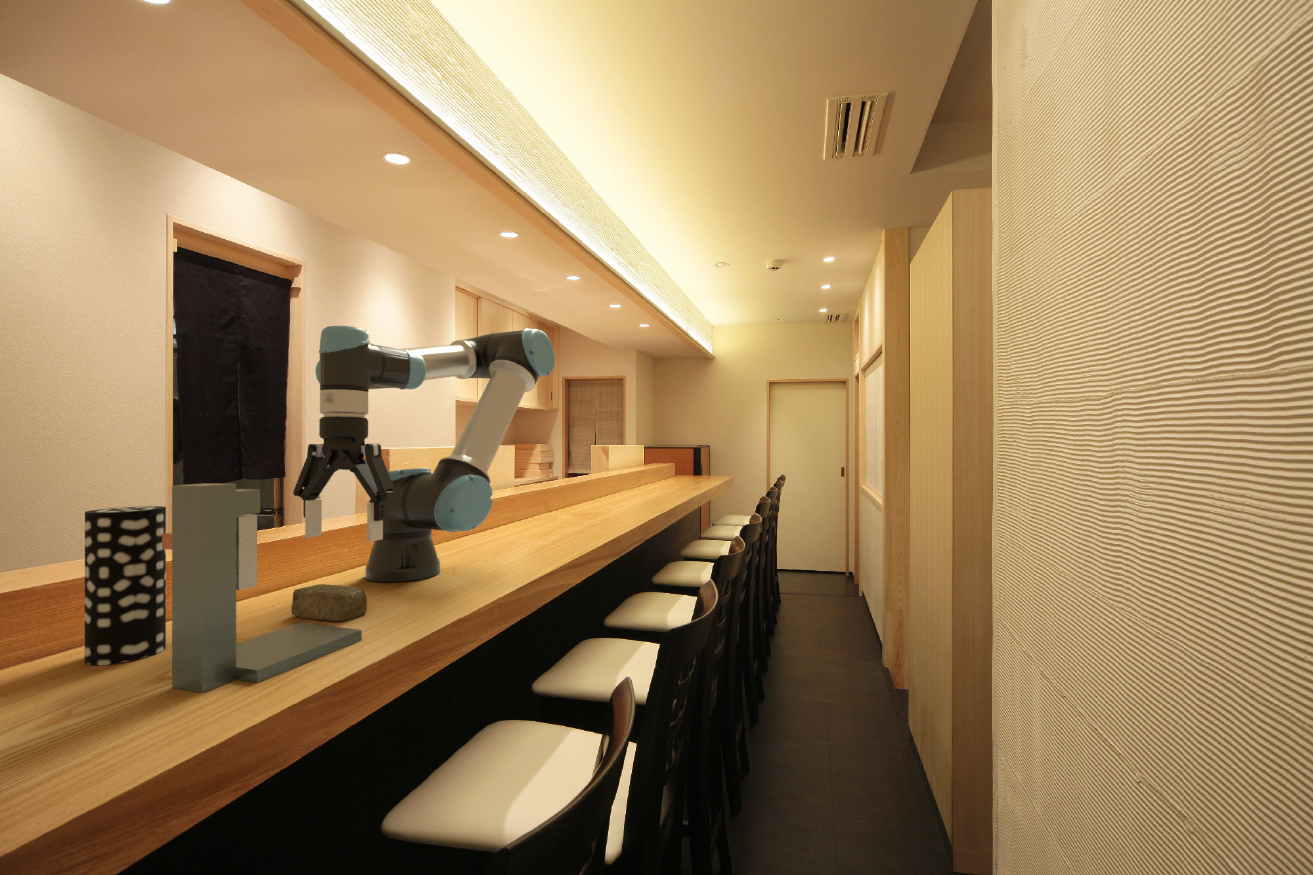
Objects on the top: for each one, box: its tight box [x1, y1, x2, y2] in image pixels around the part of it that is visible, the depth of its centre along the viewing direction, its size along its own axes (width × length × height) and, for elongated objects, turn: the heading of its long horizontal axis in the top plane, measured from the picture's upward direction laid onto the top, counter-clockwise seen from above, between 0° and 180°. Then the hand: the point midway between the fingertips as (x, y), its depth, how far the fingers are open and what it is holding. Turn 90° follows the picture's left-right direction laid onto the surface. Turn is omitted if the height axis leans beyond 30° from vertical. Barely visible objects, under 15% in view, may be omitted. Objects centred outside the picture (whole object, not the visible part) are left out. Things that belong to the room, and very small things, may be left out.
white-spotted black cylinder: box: [84, 505, 167, 666], centre depth 81 cm, size 8×8×20 cm
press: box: [171, 482, 363, 694], centre depth 78 cm, size 20×12×24 cm, turn 162°
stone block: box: [290, 583, 368, 622], centre depth 98 cm, size 6×12×5 cm, turn 72°
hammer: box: [162, 514, 258, 591], centre depth 77 cm, size 4×13×9 cm, turn 72°
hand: (343, 538), depth 101 cm, fingers open, 13 cm apart
